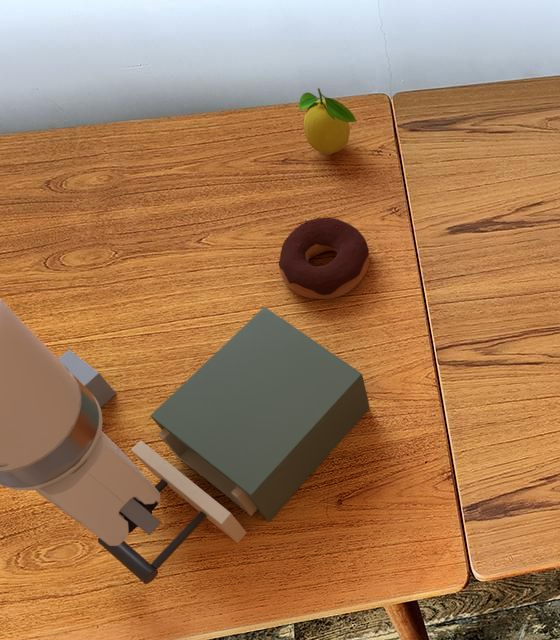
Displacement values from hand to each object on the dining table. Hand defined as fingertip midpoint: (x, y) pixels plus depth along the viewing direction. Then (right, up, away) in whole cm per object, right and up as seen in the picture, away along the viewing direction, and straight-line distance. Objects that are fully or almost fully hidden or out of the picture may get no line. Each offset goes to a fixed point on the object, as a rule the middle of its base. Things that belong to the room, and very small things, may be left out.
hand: (138, 513), depth 63 cm
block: (-12, +8, +14) cm, 20 cm away
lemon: (+10, +38, +33) cm, 51 cm away
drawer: (+4, +1, +9) cm, 10 cm away
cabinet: (+8, +5, +13) cm, 16 cm away
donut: (+11, +22, +24) cm, 34 cm away
